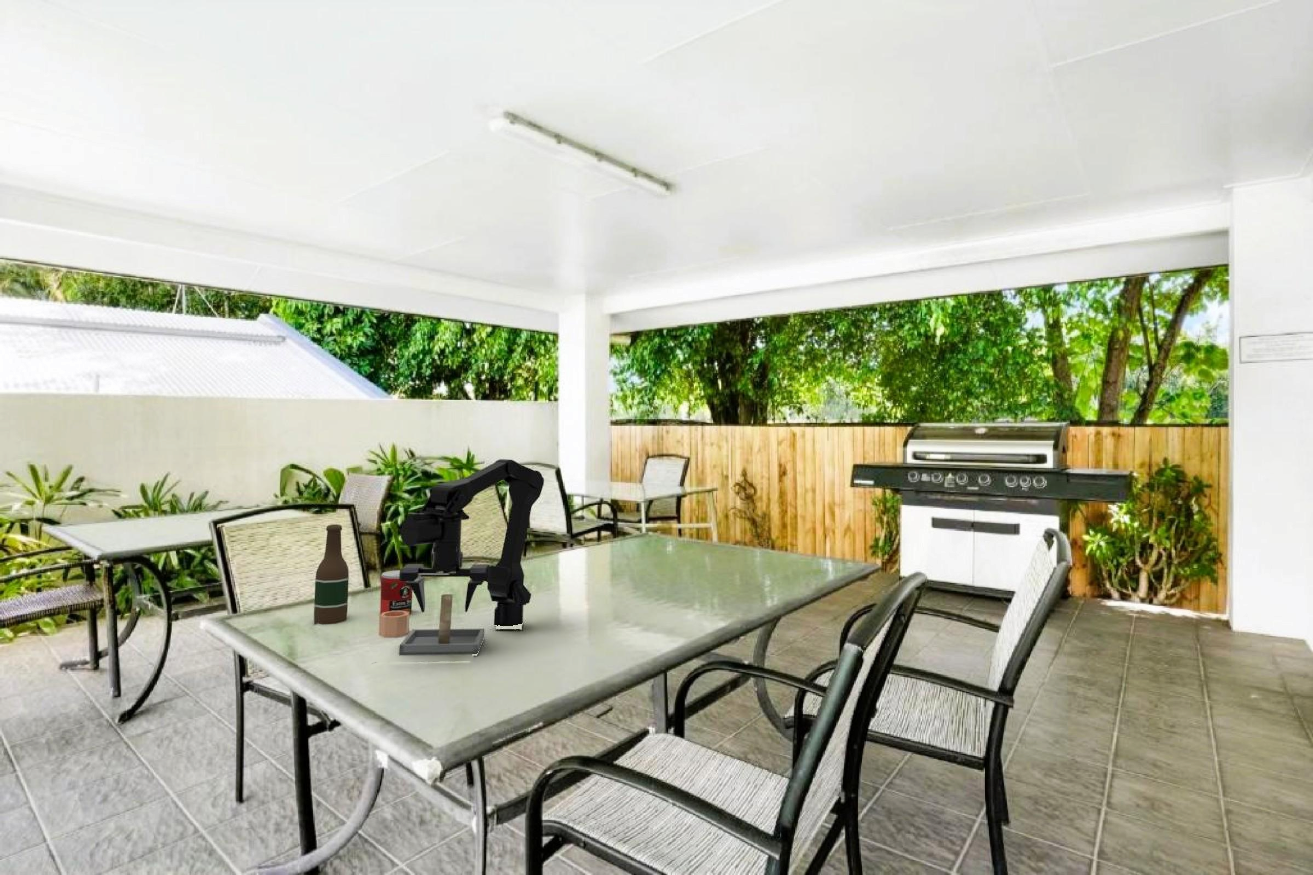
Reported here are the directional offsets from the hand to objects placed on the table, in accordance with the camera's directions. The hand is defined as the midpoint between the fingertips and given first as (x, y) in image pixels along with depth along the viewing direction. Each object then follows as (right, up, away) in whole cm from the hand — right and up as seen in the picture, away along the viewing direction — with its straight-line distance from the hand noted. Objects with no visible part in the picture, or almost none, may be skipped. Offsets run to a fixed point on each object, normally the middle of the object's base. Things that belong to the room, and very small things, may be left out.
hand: (444, 611), depth 144 cm
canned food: (-21, -8, +25) cm, 34 cm away
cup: (-15, -8, +8) cm, 18 cm away
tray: (0, -8, 0) cm, 8 cm away
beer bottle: (-34, -7, +17) cm, 39 cm away
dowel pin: (0, -7, 0) cm, 7 cm away
